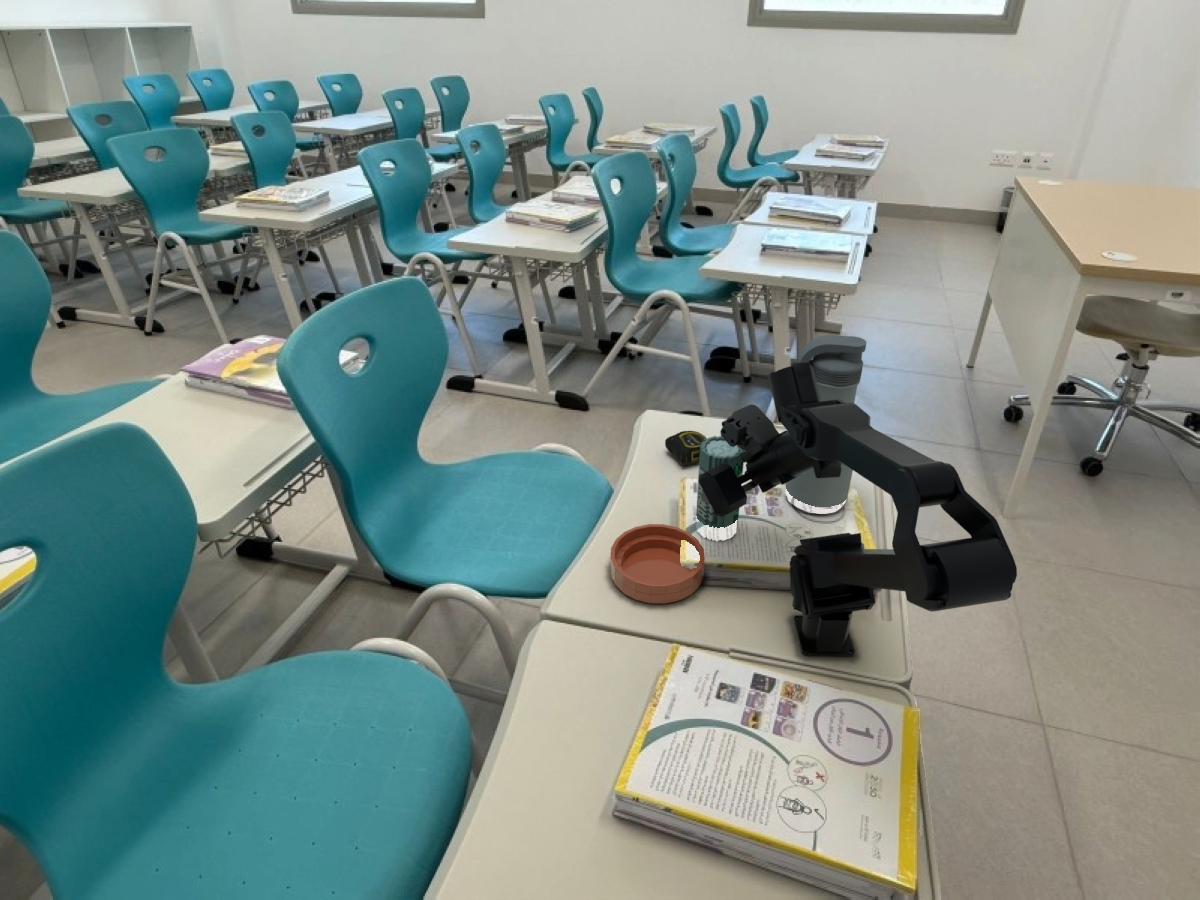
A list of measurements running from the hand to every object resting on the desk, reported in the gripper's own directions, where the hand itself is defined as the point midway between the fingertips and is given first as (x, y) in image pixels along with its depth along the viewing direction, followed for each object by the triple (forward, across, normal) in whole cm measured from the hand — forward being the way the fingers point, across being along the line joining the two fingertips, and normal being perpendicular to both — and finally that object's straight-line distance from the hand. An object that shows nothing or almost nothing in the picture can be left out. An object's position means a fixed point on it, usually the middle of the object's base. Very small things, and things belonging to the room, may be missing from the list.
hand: (725, 486), depth 106 cm
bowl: (+6, +13, +6) cm, 16 cm away
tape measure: (+20, -10, -7) cm, 23 cm away
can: (+7, 0, +6) cm, 9 cm away
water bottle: (+4, -18, +9) cm, 20 cm away
